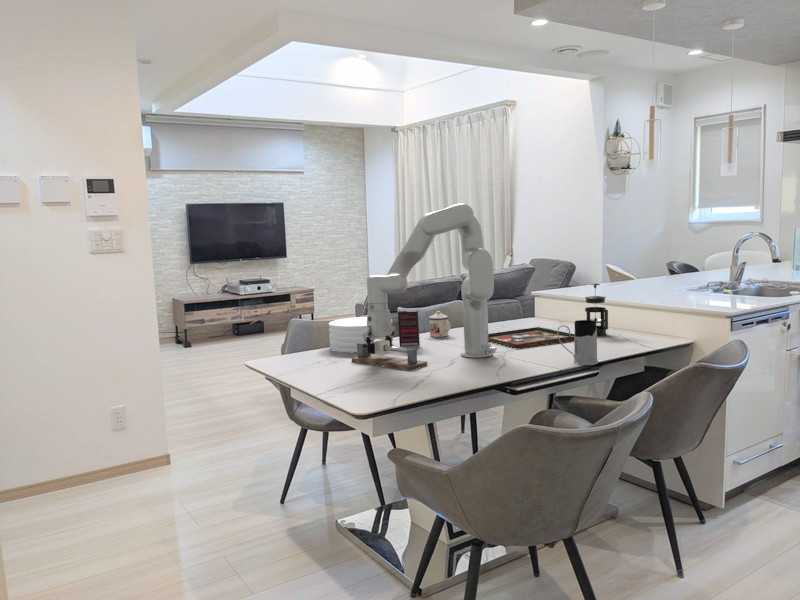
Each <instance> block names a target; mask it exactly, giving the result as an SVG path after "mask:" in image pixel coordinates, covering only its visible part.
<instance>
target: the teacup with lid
mask: <svg viewBox="0 0 800 600" xmlns="http://www.w3.org/2000/svg"><path fill="white" fill-rule="evenodd" d="M428 320H429V335H430V337H432V336H433V338H445V337H448V336H449V332H450V330H451V323H450V322H449V316H448V315H446V314H443V313H442V312H441V311H440V310H438V311H436V312H435V313H434V314H432V315H430V316H429V318H428ZM444 336H445V337H444Z"/></svg>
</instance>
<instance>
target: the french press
mask: <svg viewBox="0 0 800 600" xmlns="http://www.w3.org/2000/svg"><path fill="white" fill-rule="evenodd" d="M590 286H593V288H594V295H590V296H585V297H584V299H585V303H587V304H594V306H589V307H585V308H584V312H585V313H586V320H593V321H596V324H600V325H596V327H597V337H605V336H607V330H609V310H608V309H607V308H606V307H602V306H597V304H602V303H605V301H606V298H607V297H606V296H601V295H597V294H596V292H597V286H601V284H599V283H591V284H590ZM591 313H594V318H592V319H591ZM597 313H600V319H599V318H597Z"/></svg>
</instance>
